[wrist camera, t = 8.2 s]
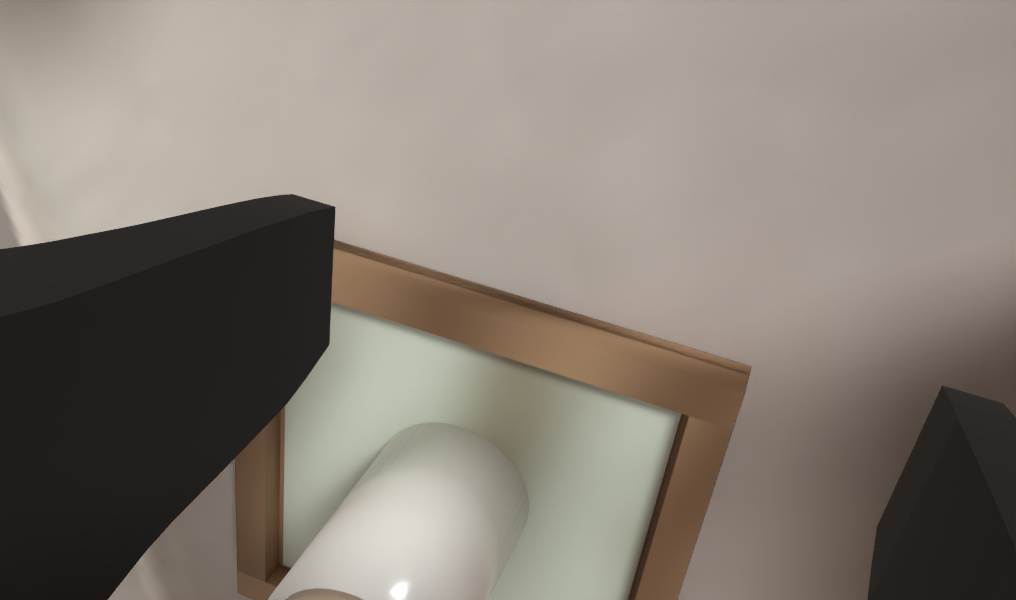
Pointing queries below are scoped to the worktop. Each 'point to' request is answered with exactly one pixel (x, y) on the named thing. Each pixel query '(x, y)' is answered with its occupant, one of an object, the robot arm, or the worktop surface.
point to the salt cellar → (418, 524)
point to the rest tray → (499, 429)
